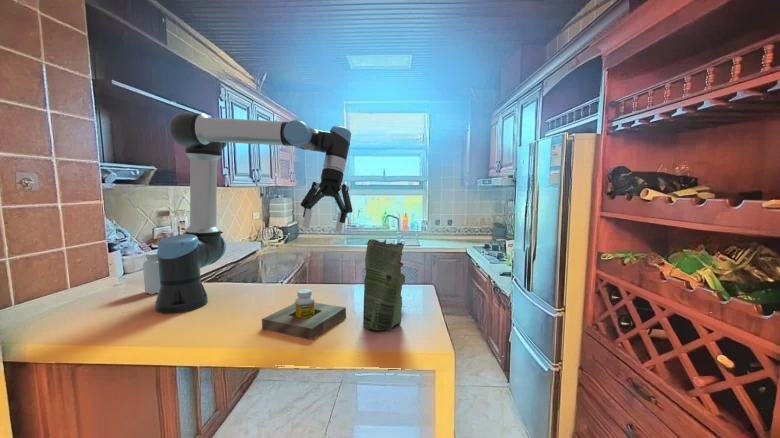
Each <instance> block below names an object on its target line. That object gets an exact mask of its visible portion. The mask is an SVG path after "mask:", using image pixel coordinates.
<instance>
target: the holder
mask: <svg viewBox="0 0 780 438" xmlns="http://www.w3.org/2000/svg"><path fill="white" fill-rule="evenodd" d="M314 309H315V315H314V316H312V317H311V318H309V319H305V318H300V317H296V305H295V302H294V303H291V304H290V305H288V306H285V307H284V308H281V309H280V310H277V311H275V312H273V313H272V314H269V315H267V316H265V317H263V318H261V326H262V327H261V328H262V330H264V331H270V332H274V333H278V334H284V335H288V336H293V337H297V338H302V339H306V340H307V339H308V340H312V341H313V340H314V339H316V338H317V337H318V336H320V335H321V334H323V333H325V332H326V331H327V330H329V329H330V328H331V327H333V326H335V325H336V324H338V323H339V322H341V321H342V320H343V319H345V318H347V307H345V306H339V305H333V304H332V305H331V304H326V303H320V302H314Z"/></svg>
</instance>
